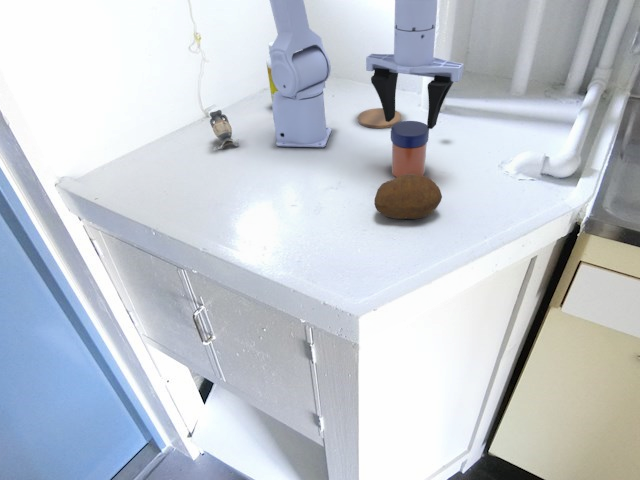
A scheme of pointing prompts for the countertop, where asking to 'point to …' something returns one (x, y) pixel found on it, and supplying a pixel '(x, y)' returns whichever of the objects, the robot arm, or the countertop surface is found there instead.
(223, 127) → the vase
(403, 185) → the potato
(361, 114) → the coaster
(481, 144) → the countertop surface
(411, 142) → the lid
